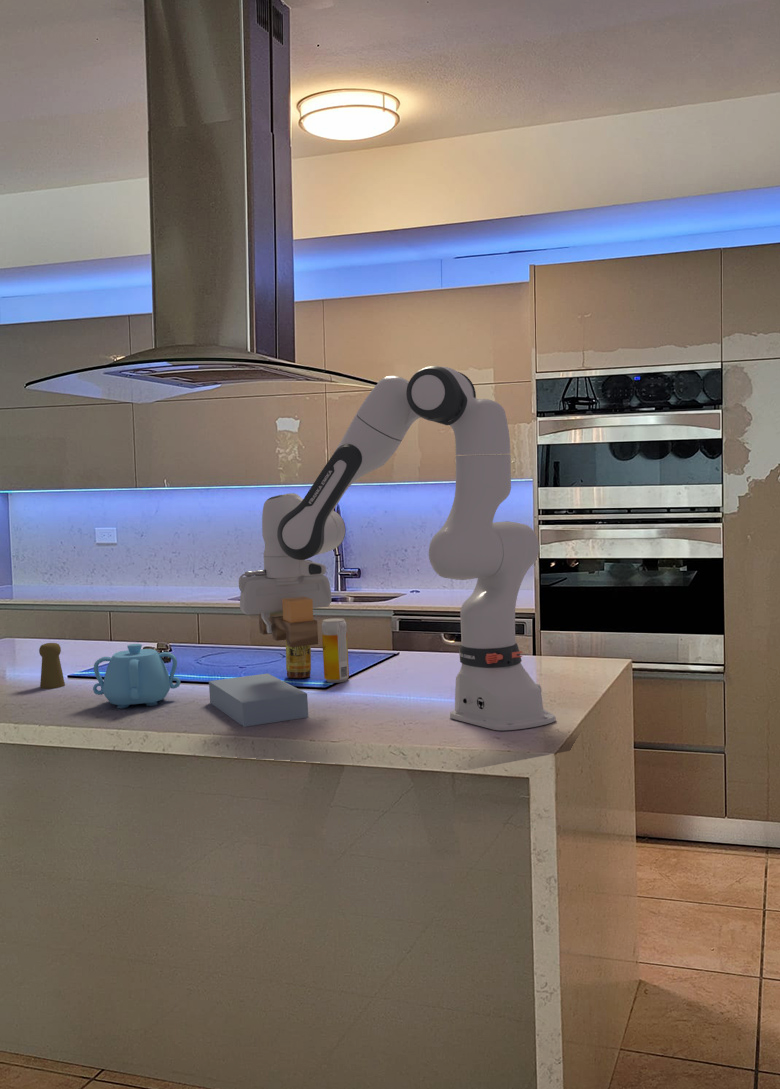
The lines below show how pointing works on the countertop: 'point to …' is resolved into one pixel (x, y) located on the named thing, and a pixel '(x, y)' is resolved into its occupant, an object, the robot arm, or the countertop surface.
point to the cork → (51, 666)
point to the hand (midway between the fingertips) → (287, 631)
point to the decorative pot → (136, 677)
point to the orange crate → (297, 609)
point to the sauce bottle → (298, 661)
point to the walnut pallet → (291, 630)
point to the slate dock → (258, 699)
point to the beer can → (335, 650)
